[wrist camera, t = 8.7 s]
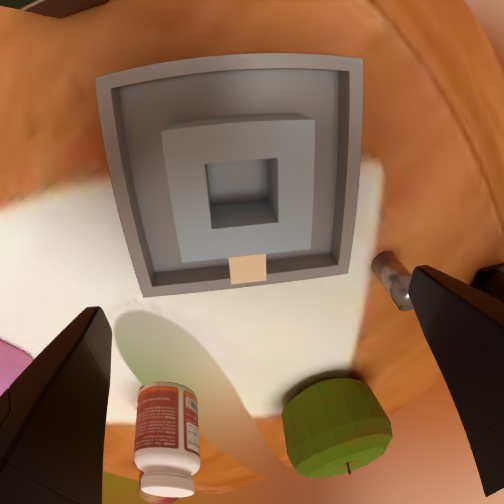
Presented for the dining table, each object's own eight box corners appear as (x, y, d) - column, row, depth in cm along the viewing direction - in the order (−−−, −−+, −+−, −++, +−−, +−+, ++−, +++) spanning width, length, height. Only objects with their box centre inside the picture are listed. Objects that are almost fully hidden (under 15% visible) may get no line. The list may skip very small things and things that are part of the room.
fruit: (152, 452, 37) (151, 498, 31) (191, 463, 41) (193, 505, 34) (128, 461, 40) (126, 501, 33) (165, 472, 43) (166, 509, 36)
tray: (346, 59, 15) (362, 58, 13) (337, 256, 22) (347, 273, 20) (107, 77, 14) (94, 77, 12) (147, 278, 21) (143, 297, 19)
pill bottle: (131, 398, 29) (123, 491, 19) (151, 372, 26) (144, 480, 17) (182, 413, 31) (184, 501, 22) (208, 390, 29) (215, 491, 19)
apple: (268, 419, 34) (283, 497, 25) (291, 368, 28) (318, 468, 19) (347, 410, 36) (371, 478, 27) (383, 361, 31) (421, 441, 21)
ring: (169, 122, 15) (160, 131, 12) (297, 112, 16) (315, 119, 13) (189, 260, 20) (187, 288, 17) (296, 248, 20) (308, 275, 18)
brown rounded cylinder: (397, 249, 22) (427, 284, 19) (392, 272, 23) (419, 307, 20) (374, 253, 22) (402, 289, 18) (369, 276, 23) (394, 313, 20)
